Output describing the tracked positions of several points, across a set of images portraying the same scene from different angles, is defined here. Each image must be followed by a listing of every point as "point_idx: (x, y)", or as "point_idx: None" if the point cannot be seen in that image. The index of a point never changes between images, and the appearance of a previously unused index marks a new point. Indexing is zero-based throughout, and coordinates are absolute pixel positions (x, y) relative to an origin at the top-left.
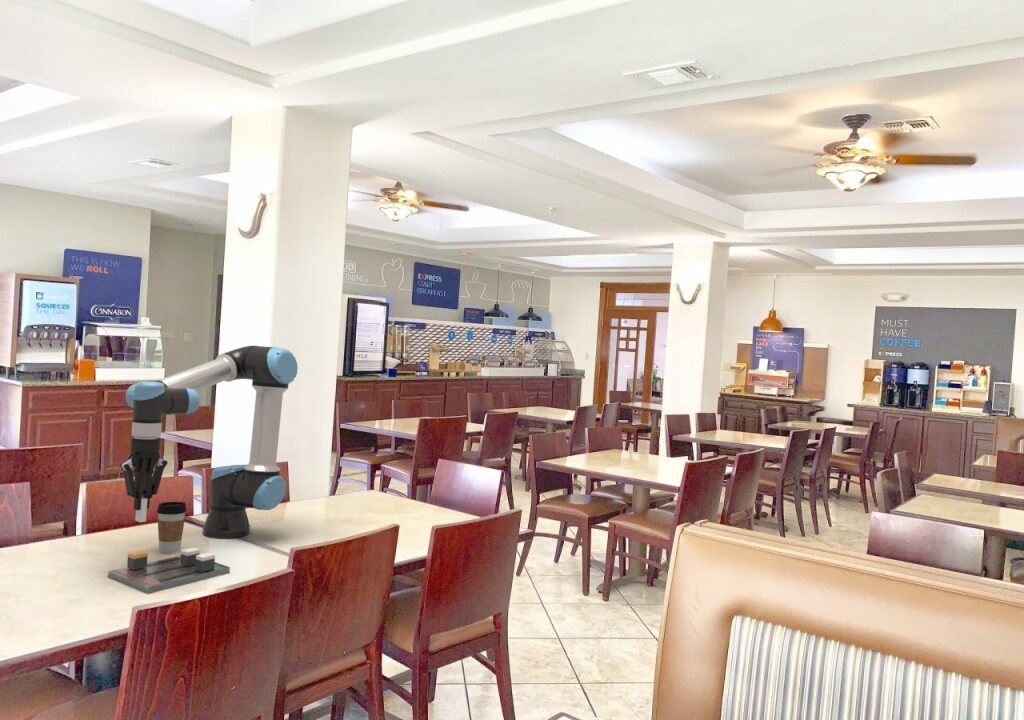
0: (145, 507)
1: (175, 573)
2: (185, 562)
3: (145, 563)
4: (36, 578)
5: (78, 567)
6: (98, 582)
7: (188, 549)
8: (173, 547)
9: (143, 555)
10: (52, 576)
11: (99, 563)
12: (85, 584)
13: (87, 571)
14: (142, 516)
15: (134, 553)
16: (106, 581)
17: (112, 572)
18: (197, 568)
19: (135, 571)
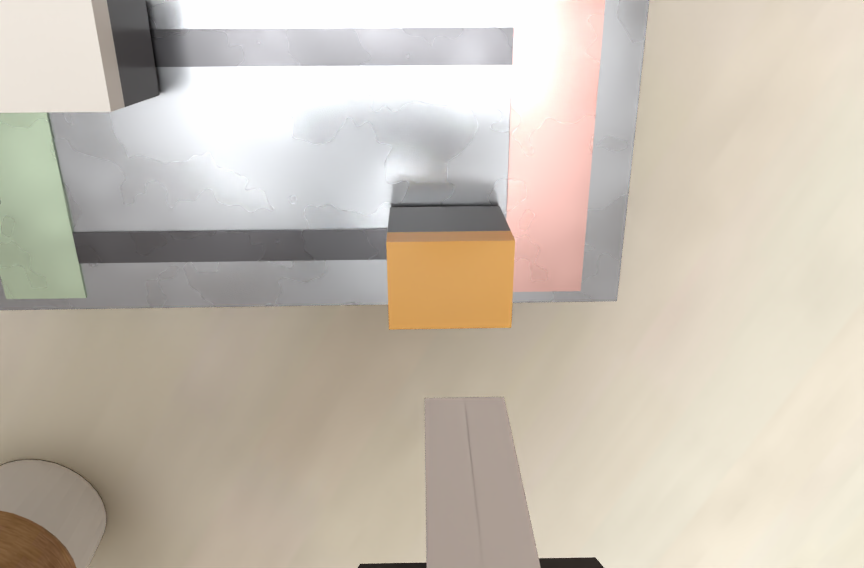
0: (455, 561)
1: None
2: (137, 20)
3: (403, 215)
4: (849, 502)
5: (600, 537)
6: (704, 232)
7: (37, 89)
8: (22, 483)
9: (425, 235)
10: (781, 485)
11: None
12: (775, 249)
13: (612, 453)
14: (492, 448)
15: (478, 290)
16: (661, 217)
17: (611, 264)
18: None
19: (496, 179)
